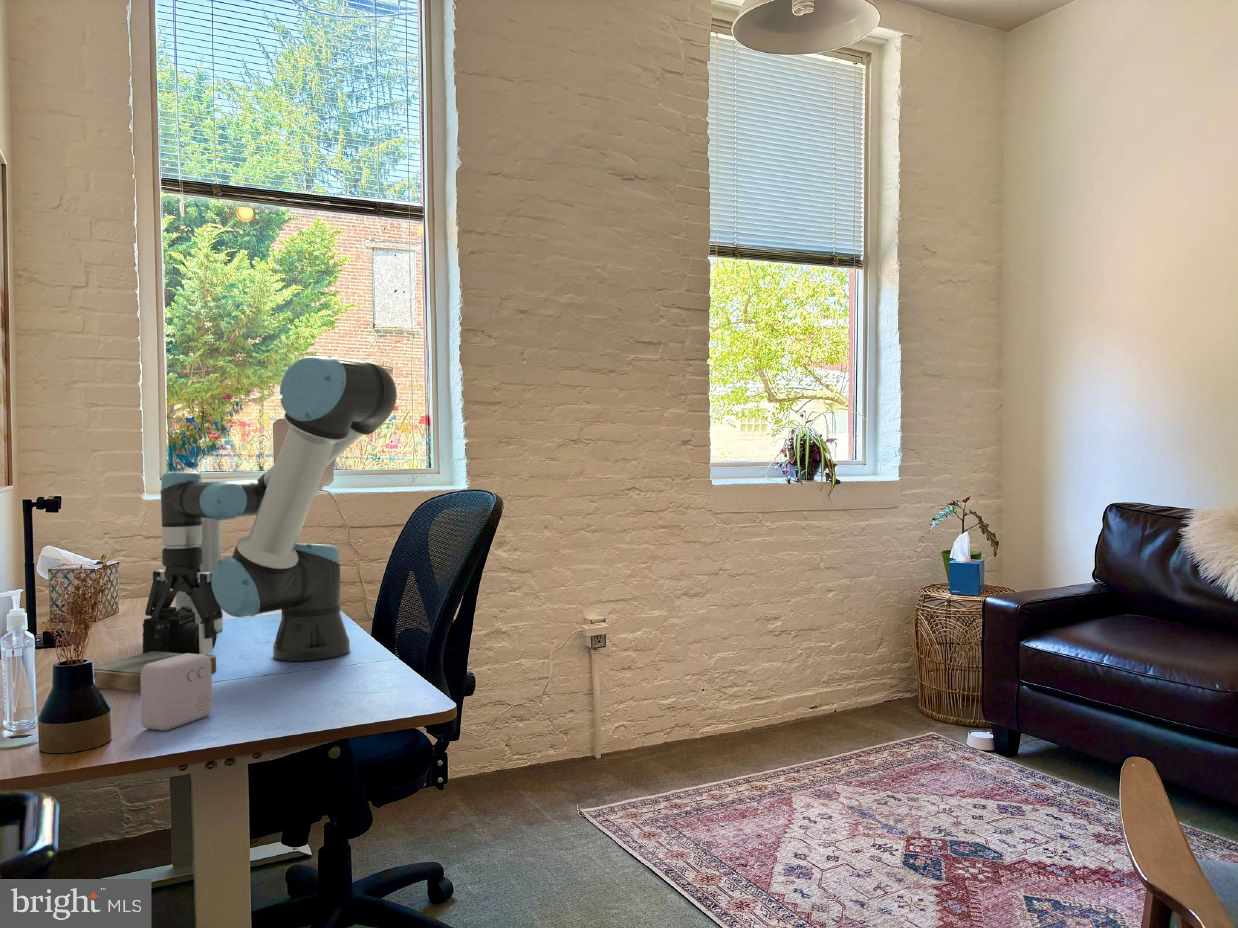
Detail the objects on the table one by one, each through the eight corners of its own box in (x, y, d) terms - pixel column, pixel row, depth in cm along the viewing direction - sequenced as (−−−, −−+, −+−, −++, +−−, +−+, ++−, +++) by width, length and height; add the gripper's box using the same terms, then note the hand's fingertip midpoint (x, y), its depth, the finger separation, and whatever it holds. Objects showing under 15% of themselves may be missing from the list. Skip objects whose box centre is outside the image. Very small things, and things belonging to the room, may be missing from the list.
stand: (216, 670, 174) (215, 655, 174) (146, 692, 159) (146, 675, 159) (152, 665, 179) (152, 650, 179) (80, 685, 164) (79, 668, 164)
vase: (206, 636, 207) (203, 518, 206) (166, 635, 208) (164, 518, 208) (231, 627, 217) (229, 515, 216) (193, 627, 218) (191, 515, 218)
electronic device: (164, 734, 135) (163, 667, 135) (141, 730, 137) (140, 665, 137) (216, 715, 144) (215, 653, 144) (194, 712, 146) (193, 651, 146)
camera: (182, 665, 179) (181, 615, 178) (135, 663, 181) (134, 614, 180) (226, 650, 192) (225, 603, 192) (181, 648, 194) (180, 602, 194)
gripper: (240, 545, 186) (242, 651, 186) (154, 542, 194) (156, 644, 194) (212, 549, 179) (214, 660, 179) (124, 546, 187) (126, 651, 187)
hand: (184, 651), depth 187 cm, fingers closed on camera, 11 cm apart
